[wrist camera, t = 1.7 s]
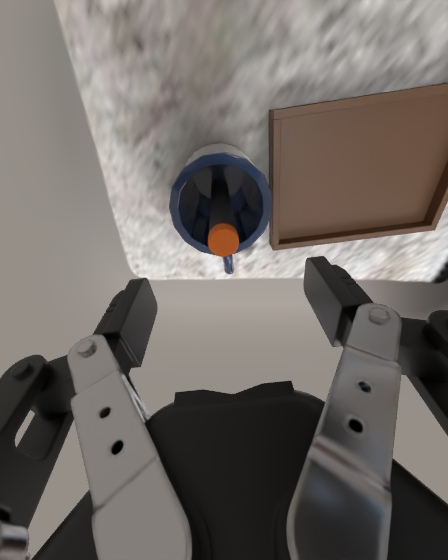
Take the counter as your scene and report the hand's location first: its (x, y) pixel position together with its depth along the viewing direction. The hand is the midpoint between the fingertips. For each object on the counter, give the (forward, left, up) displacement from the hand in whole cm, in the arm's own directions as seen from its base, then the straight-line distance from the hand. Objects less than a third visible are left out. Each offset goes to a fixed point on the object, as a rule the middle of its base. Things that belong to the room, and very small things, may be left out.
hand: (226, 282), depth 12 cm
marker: (0, 0, -19) cm, 19 cm away
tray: (+1, +17, -20) cm, 26 cm away
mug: (+2, 0, -20) cm, 20 cm away
